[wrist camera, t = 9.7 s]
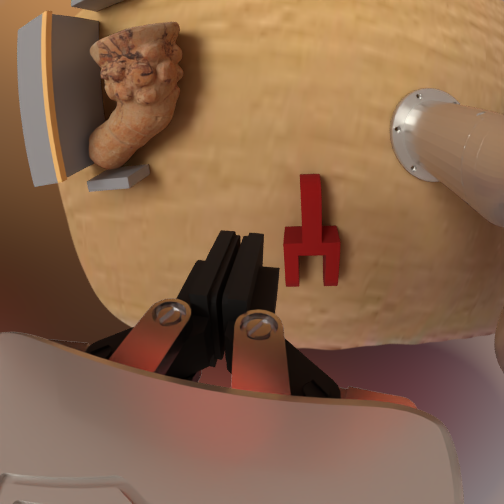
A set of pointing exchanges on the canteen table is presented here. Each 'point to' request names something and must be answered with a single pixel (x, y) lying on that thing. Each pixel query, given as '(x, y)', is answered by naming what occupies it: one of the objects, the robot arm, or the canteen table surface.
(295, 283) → the mechanical linkage
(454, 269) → the canteen table surface
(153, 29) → the clay pipe
